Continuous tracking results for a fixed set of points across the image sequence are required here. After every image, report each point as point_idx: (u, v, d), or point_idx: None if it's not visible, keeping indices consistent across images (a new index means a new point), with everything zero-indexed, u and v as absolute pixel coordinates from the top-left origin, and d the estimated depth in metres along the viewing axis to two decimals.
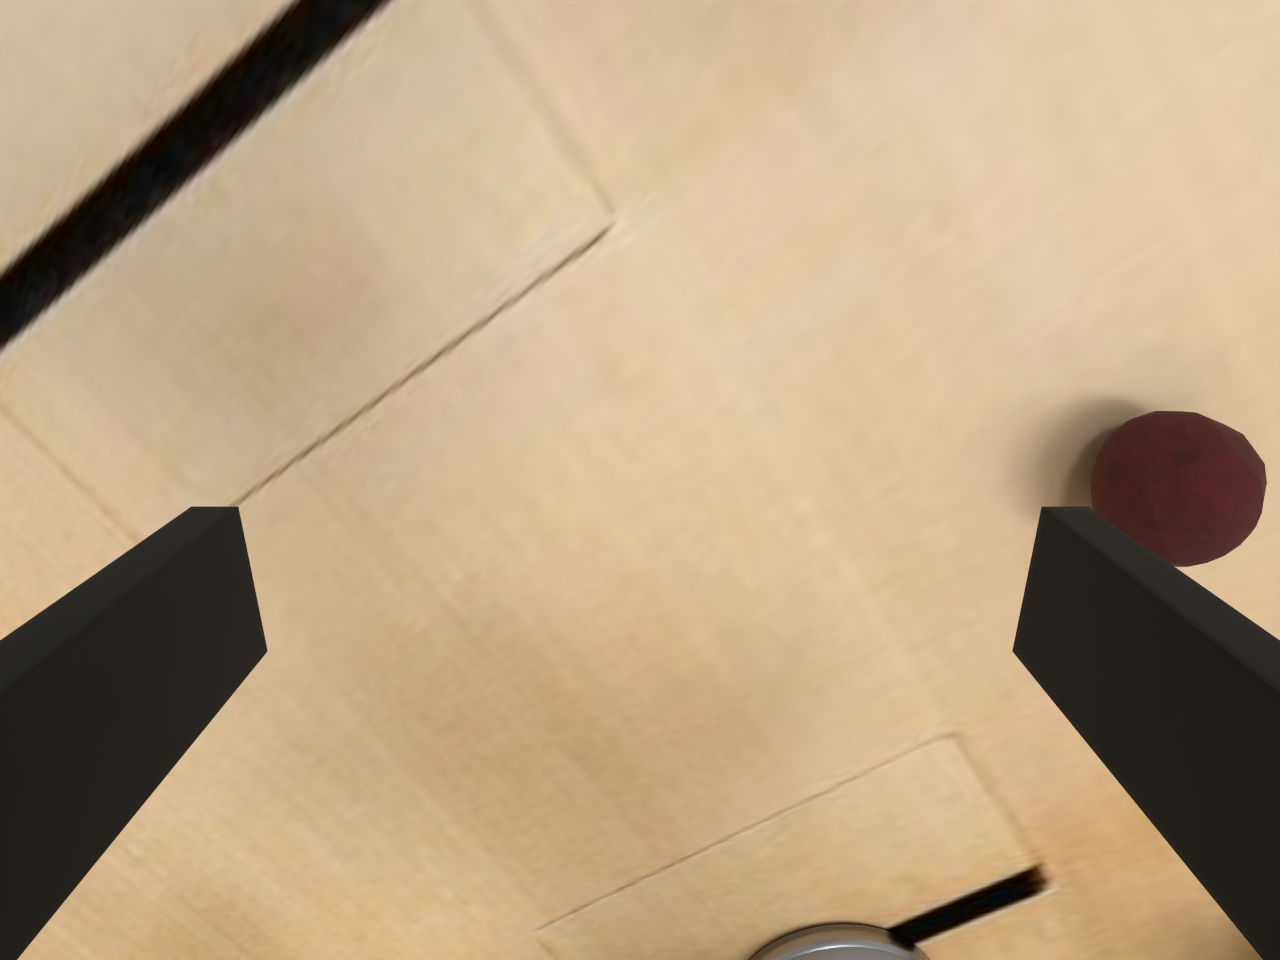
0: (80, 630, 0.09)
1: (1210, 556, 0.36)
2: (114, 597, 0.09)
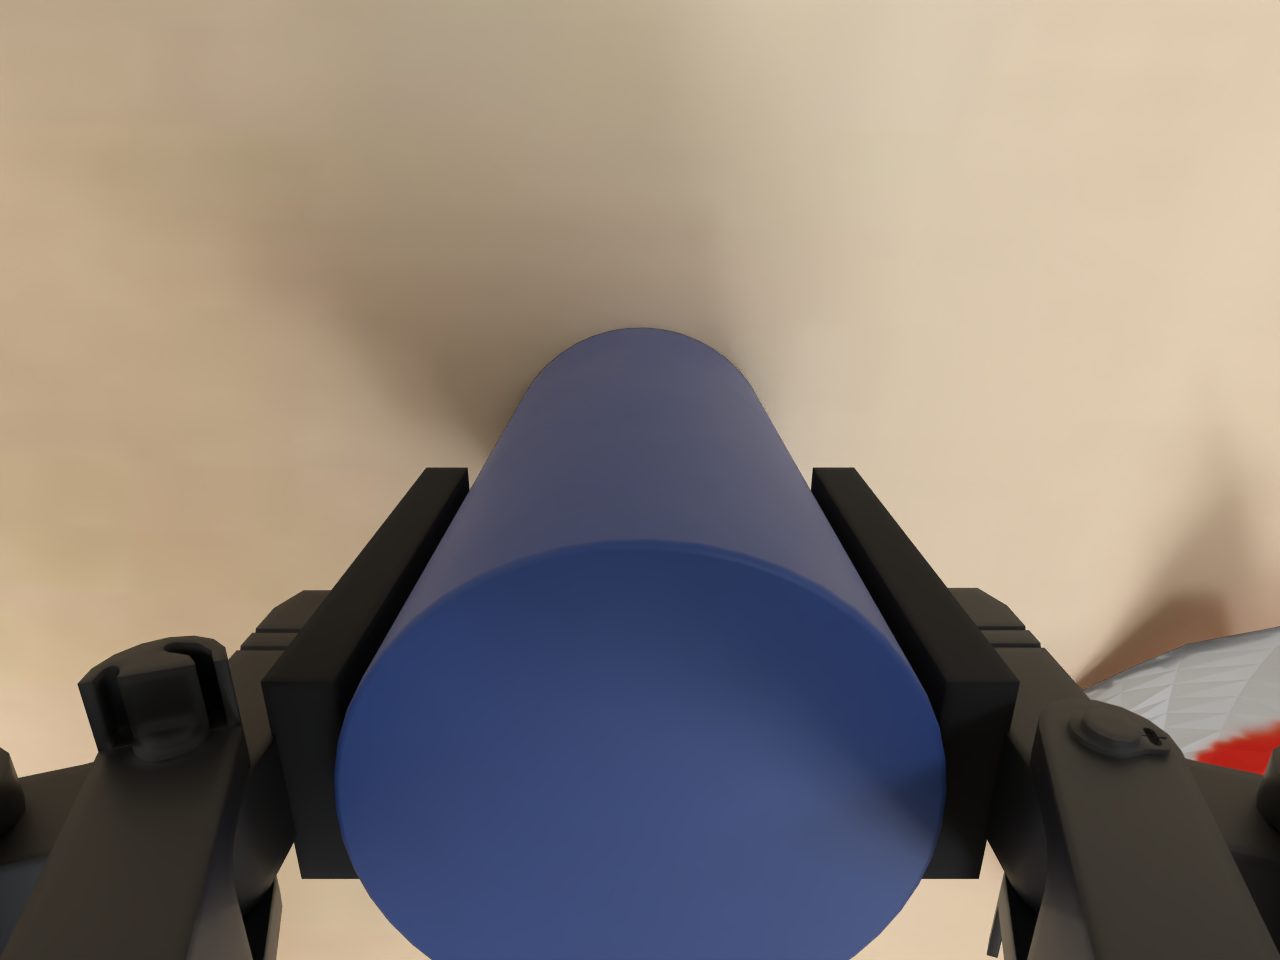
0: (411, 557, 0.10)
1: None
2: (418, 534, 0.11)
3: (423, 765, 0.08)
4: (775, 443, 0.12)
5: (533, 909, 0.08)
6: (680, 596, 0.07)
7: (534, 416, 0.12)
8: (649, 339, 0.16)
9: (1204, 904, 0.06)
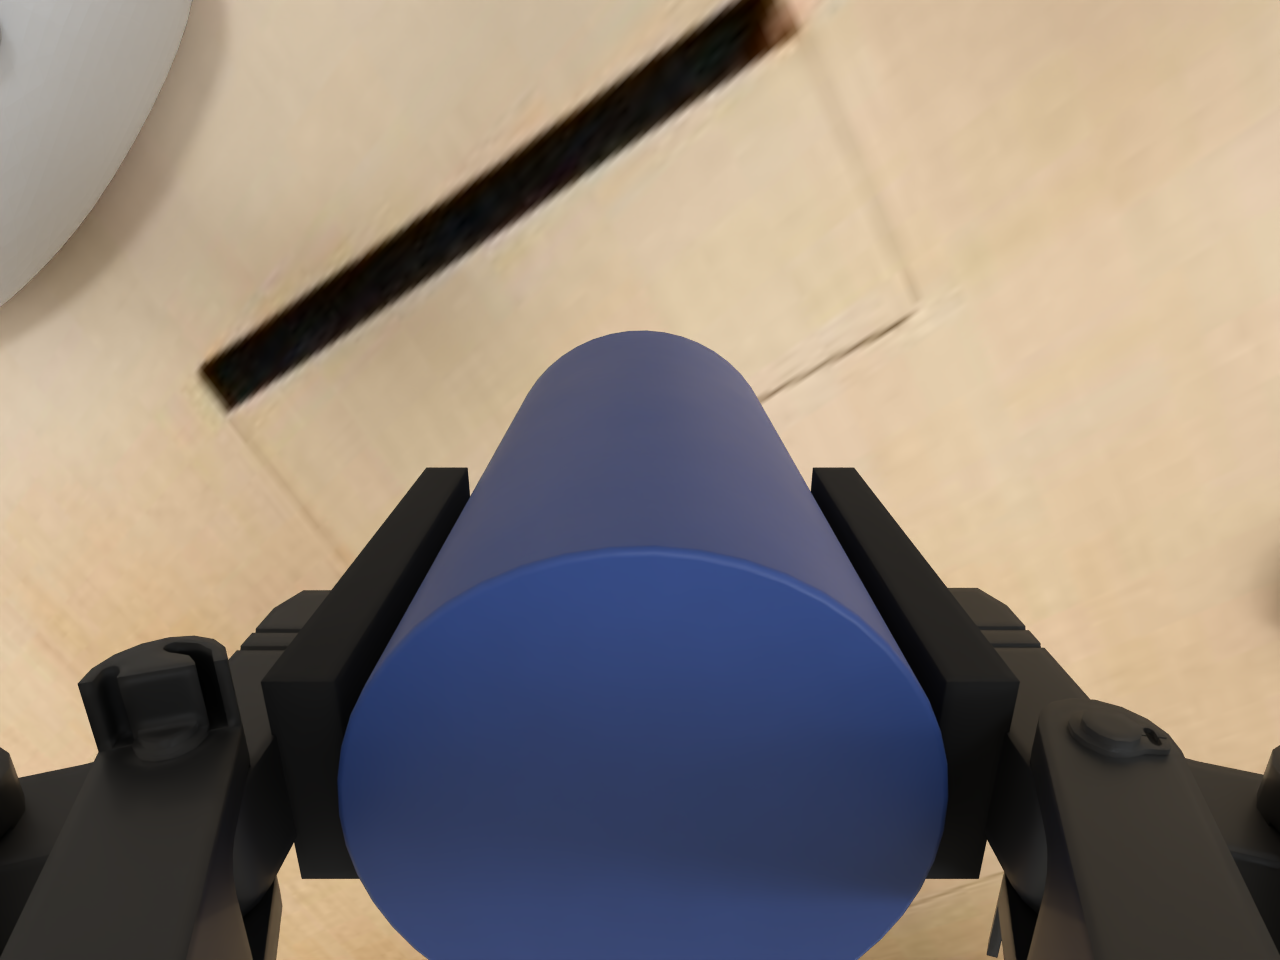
0: (411, 558, 0.10)
1: None
2: (418, 534, 0.11)
3: (425, 771, 0.08)
4: (776, 447, 0.12)
5: (537, 914, 0.08)
6: (682, 602, 0.07)
7: (536, 420, 0.12)
8: (650, 342, 0.16)
9: (1204, 902, 0.06)
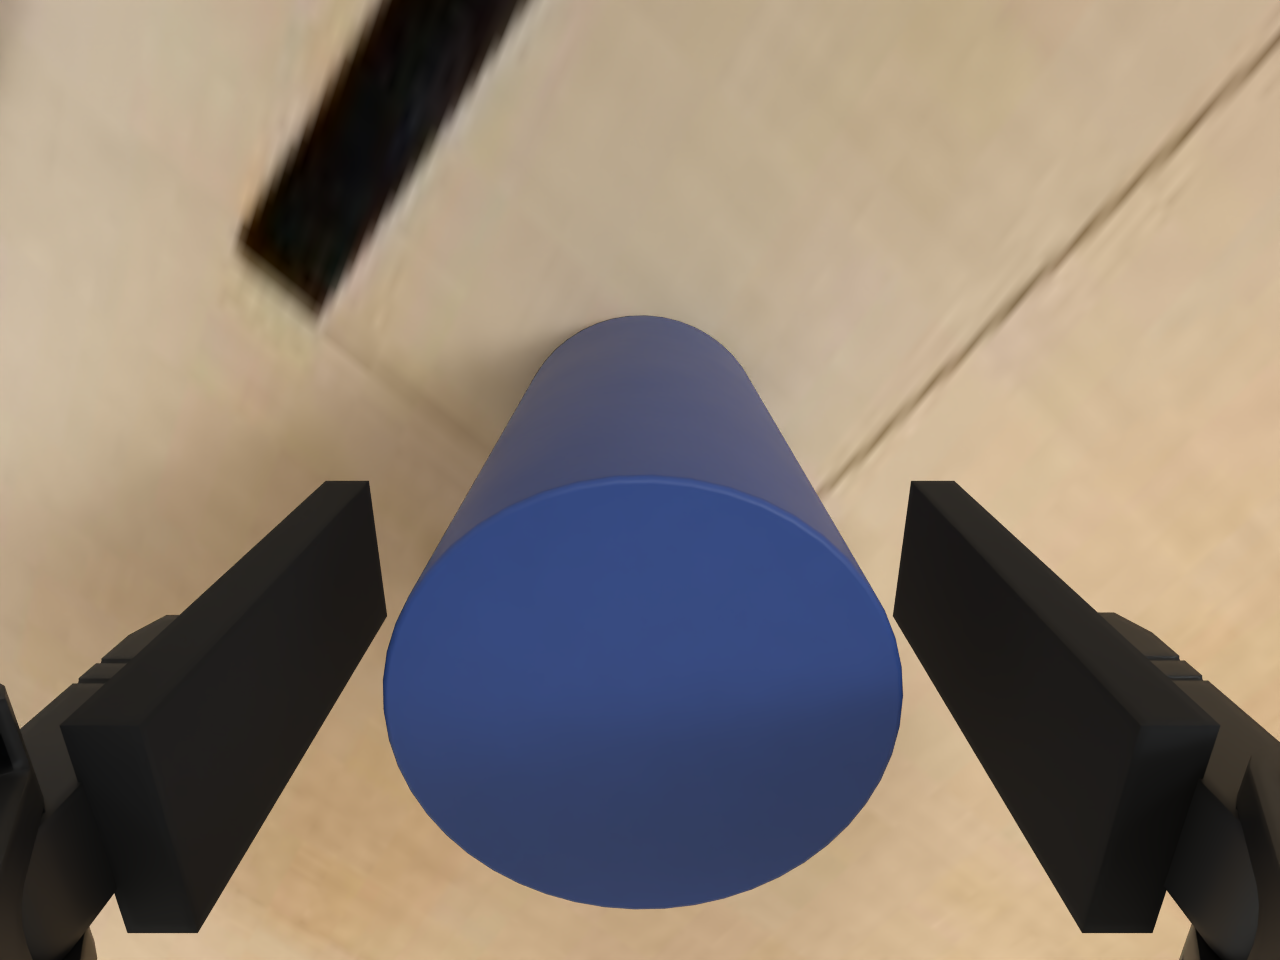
0: (274, 582, 0.10)
1: None
2: (291, 555, 0.11)
3: (458, 671, 0.09)
4: (763, 414, 0.14)
5: (551, 802, 0.10)
6: (676, 523, 0.08)
7: (546, 390, 0.14)
8: (649, 325, 0.17)
9: None
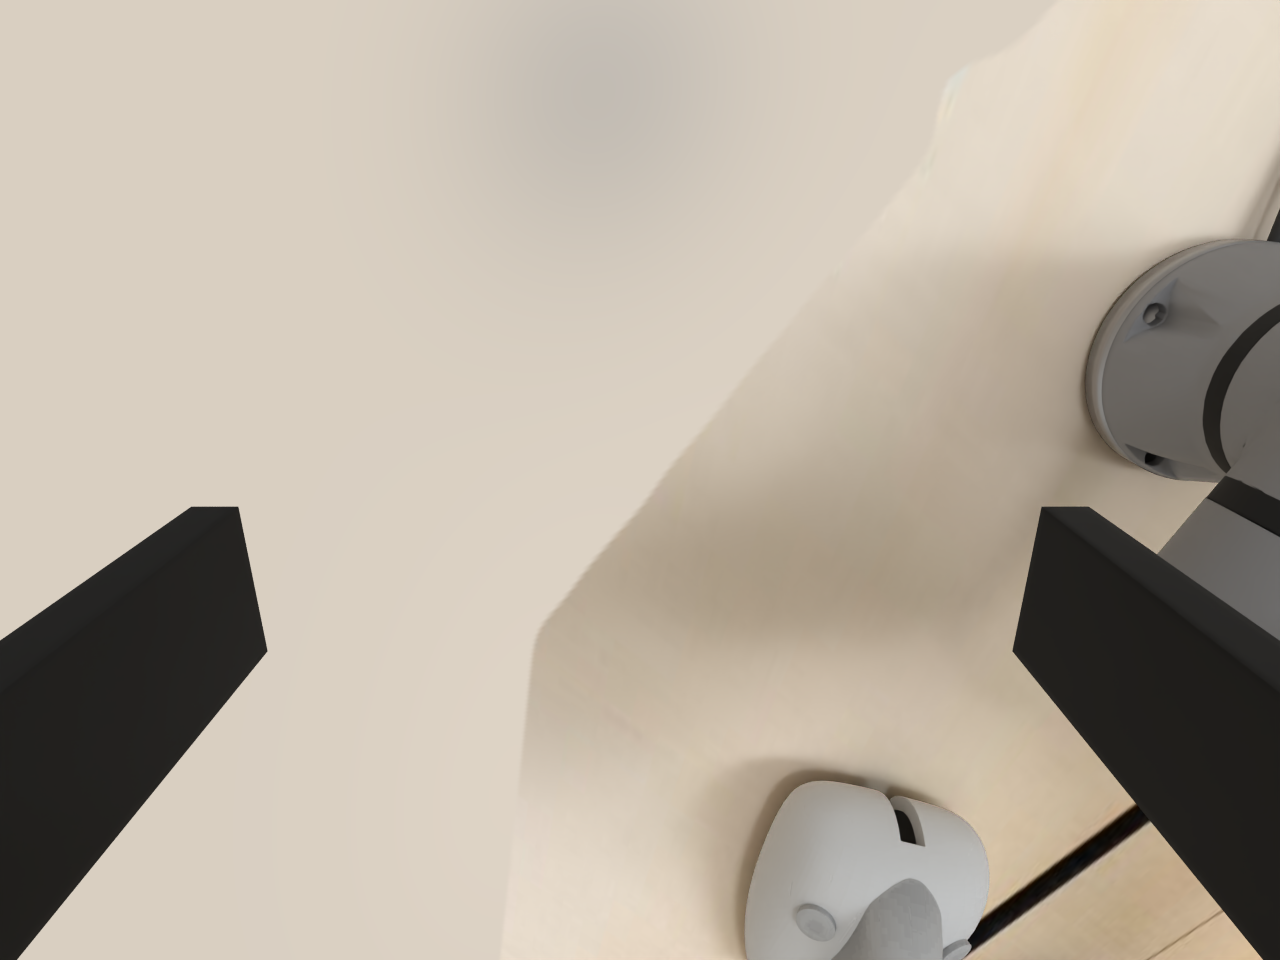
0: (80, 630, 0.09)
1: None
2: (114, 597, 0.09)
3: None
4: None
5: None
6: None
7: None
8: None
9: None
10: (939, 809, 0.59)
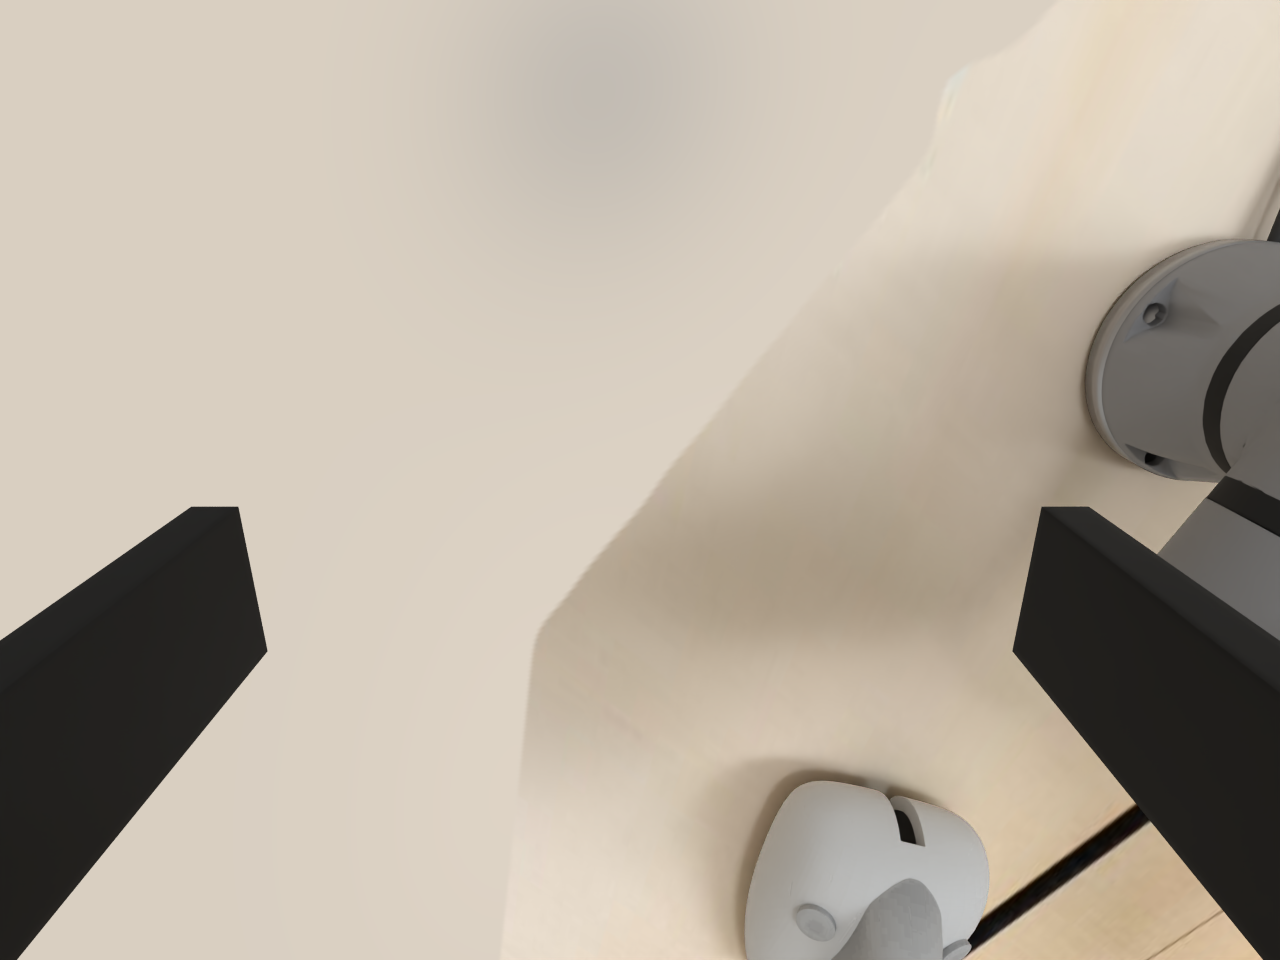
0: (80, 630, 0.09)
1: None
2: (114, 597, 0.09)
3: None
4: None
5: None
6: None
7: None
8: None
9: None
10: (939, 809, 0.59)
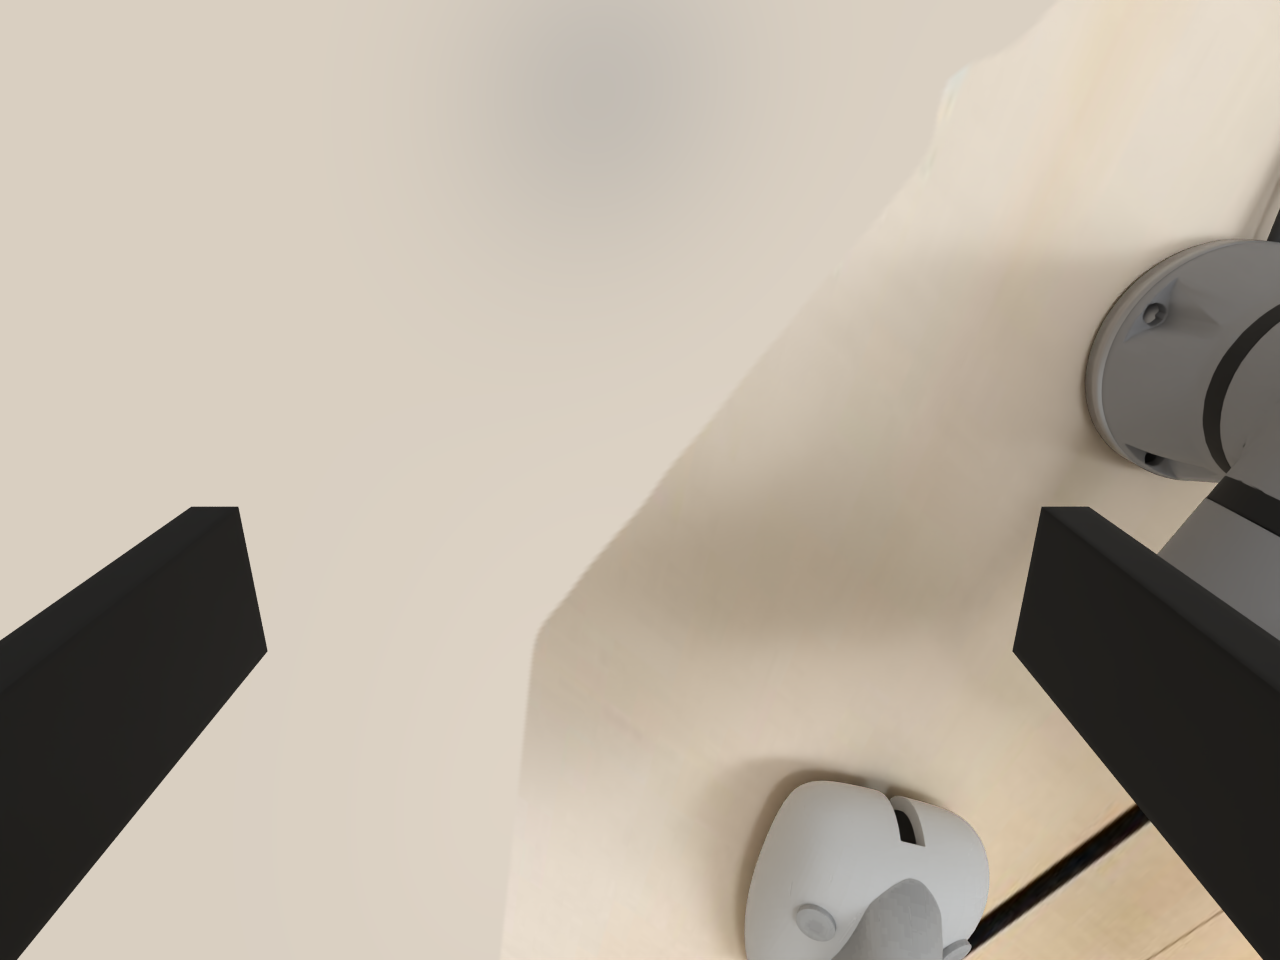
0: (80, 630, 0.09)
1: None
2: (114, 597, 0.09)
3: None
4: None
5: None
6: None
7: None
8: None
9: None
10: (939, 809, 0.59)
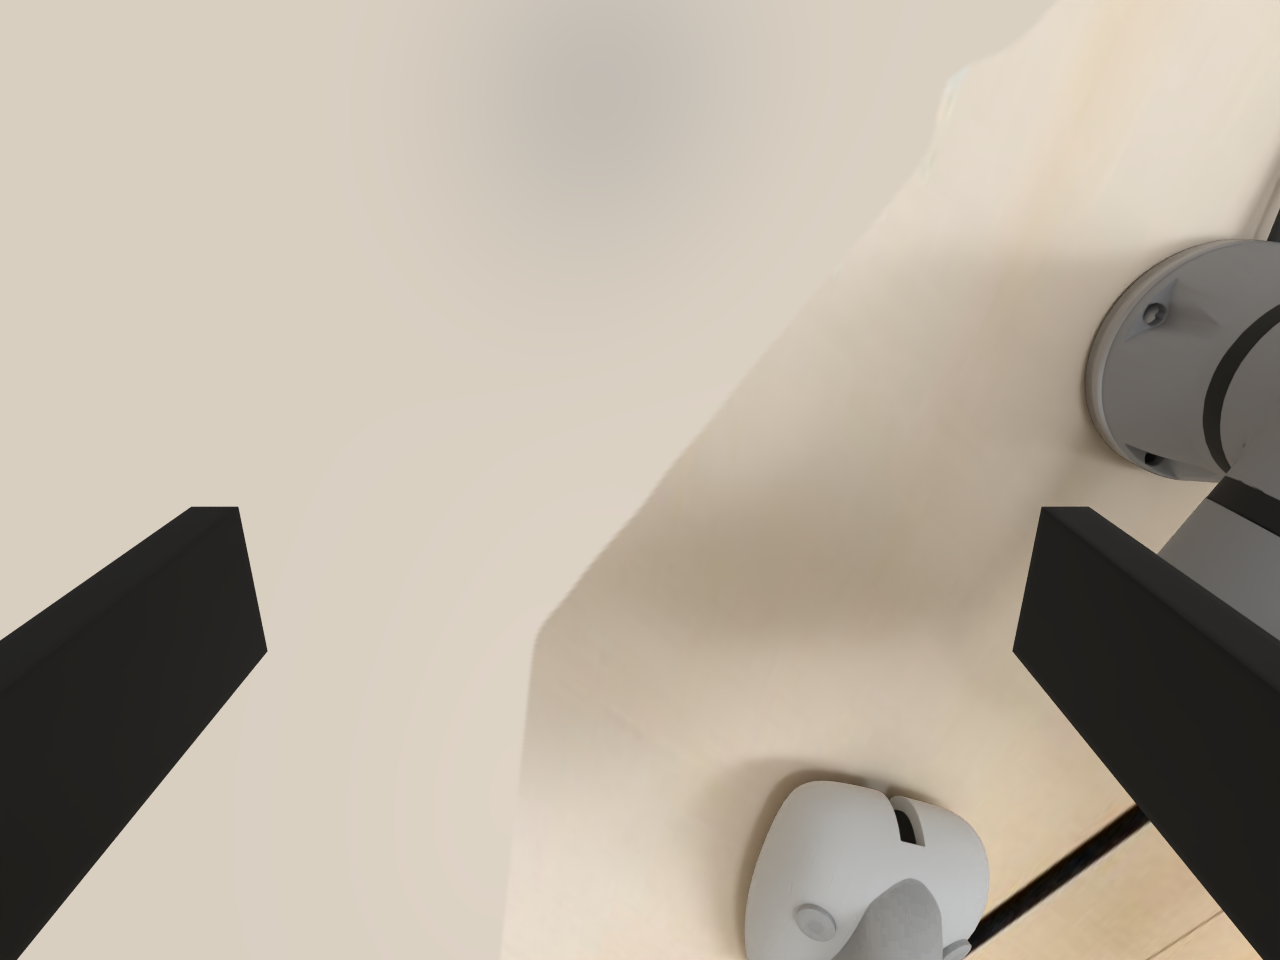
0: (80, 630, 0.09)
1: None
2: (114, 597, 0.09)
3: None
4: None
5: None
6: None
7: None
8: None
9: None
10: (939, 809, 0.59)
